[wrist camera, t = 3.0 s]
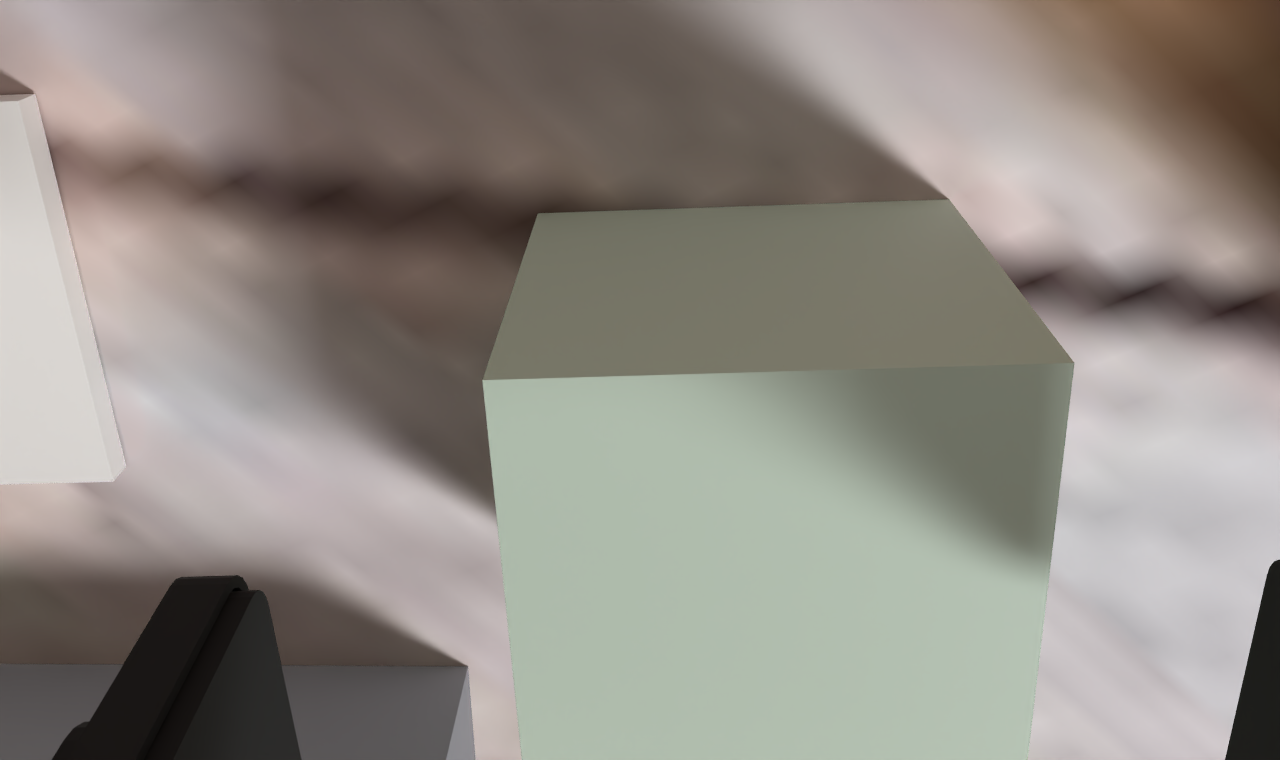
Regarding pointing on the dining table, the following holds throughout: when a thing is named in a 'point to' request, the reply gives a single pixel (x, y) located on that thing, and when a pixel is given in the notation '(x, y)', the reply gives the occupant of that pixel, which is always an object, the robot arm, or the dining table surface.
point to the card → (45, 325)
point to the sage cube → (773, 485)
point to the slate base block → (319, 700)
